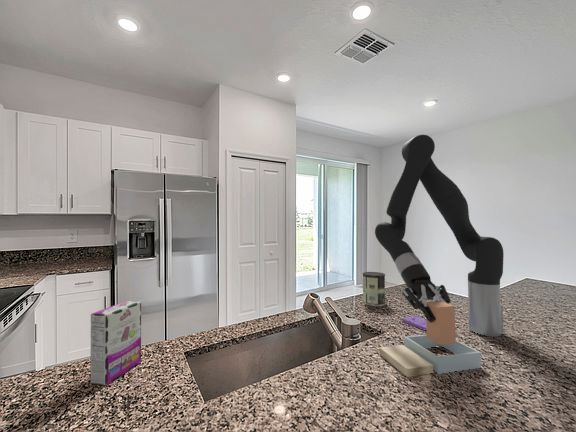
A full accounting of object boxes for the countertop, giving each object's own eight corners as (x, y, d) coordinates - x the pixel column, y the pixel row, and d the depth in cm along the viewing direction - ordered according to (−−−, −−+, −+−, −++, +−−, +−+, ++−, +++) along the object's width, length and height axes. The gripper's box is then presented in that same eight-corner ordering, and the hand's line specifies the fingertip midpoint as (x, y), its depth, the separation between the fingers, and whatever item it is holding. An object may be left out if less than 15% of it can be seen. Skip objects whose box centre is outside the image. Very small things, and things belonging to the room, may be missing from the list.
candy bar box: (125, 360, 74) (127, 299, 74) (141, 362, 73) (142, 301, 73) (87, 384, 63) (89, 312, 64) (105, 386, 62) (107, 314, 63)
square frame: (441, 345, 84) (441, 332, 84) (481, 367, 71) (480, 352, 71) (404, 350, 81) (404, 336, 81) (438, 374, 68) (438, 357, 68)
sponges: (414, 320, 108) (414, 315, 108) (444, 331, 96) (444, 326, 96) (401, 322, 105) (401, 317, 105) (430, 334, 93) (430, 329, 93)
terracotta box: (441, 335, 79) (440, 300, 79) (455, 342, 74) (454, 305, 74) (426, 337, 78) (425, 302, 78) (440, 344, 73) (438, 307, 73)
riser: (402, 351, 80) (402, 344, 80) (433, 373, 68) (433, 365, 68) (379, 354, 78) (379, 347, 78) (407, 377, 66) (407, 368, 66)
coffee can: (381, 300, 134) (380, 271, 135) (388, 306, 124) (388, 275, 124) (360, 300, 134) (360, 271, 135) (365, 306, 124) (365, 275, 125)
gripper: (396, 264, 83) (426, 316, 71) (436, 261, 87) (471, 311, 75) (387, 278, 88) (413, 329, 76) (425, 275, 92) (455, 324, 80)
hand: (441, 320), depth 76 cm, fingers closed on terracotta box, 5 cm apart
